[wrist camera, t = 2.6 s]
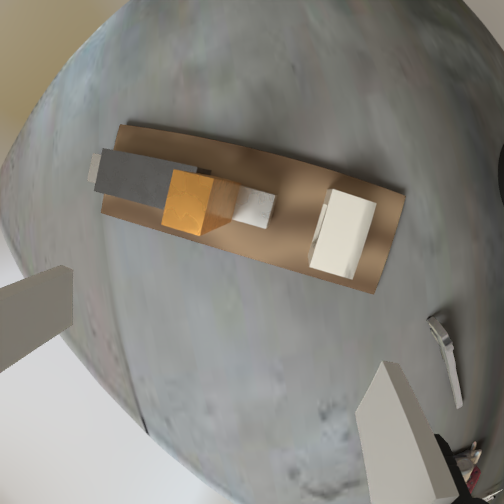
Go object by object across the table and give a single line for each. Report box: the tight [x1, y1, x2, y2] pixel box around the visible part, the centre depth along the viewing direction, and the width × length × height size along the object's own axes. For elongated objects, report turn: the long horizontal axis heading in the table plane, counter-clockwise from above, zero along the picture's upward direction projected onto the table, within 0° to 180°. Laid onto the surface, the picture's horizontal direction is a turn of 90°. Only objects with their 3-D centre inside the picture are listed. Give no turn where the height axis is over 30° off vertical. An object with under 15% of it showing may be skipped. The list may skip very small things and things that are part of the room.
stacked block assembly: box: [87, 153, 278, 236], centre depth 27 cm, size 4×22×13 cm, turn 75°
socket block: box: [308, 189, 377, 279], centre depth 30 cm, size 8×4×6 cm, turn 165°
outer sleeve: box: [94, 148, 212, 210], centre depth 32 cm, size 5×12×5 cm, turn 75°
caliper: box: [427, 316, 463, 409], centre depth 32 cm, size 20×1×6 cm, turn 33°
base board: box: [101, 124, 406, 294], centre depth 34 cm, size 12×36×2 cm, turn 75°
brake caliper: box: [453, 442, 482, 494], centre depth 34 cm, size 11×11×12 cm
